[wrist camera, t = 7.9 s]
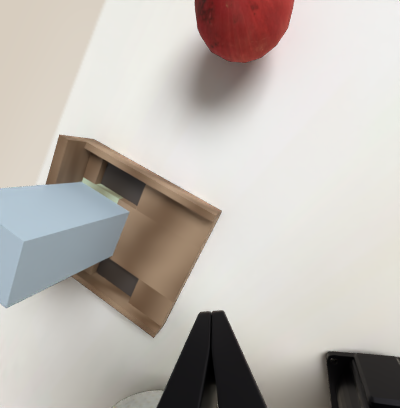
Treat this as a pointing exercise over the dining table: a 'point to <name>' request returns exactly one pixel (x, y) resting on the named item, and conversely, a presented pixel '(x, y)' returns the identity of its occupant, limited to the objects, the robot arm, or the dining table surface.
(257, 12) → the onion
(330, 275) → the dining table surface
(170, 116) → the dining table surface
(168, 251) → the box
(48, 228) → the blue block
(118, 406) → the cereal bowl
